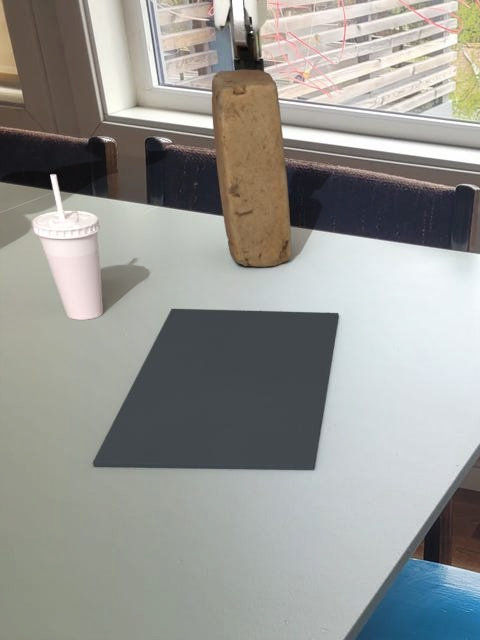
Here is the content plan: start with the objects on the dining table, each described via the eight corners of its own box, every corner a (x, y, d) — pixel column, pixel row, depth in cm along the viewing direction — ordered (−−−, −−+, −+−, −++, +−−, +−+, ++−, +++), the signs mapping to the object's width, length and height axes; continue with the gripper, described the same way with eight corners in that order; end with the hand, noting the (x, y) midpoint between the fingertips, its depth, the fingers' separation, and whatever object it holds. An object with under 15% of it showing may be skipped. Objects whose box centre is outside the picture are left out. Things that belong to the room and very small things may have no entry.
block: (295, 269, 120) (282, 82, 108) (232, 272, 118) (212, 83, 106) (282, 240, 128) (269, 64, 116) (223, 243, 126) (203, 64, 114)
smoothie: (42, 321, 104) (8, 179, 96) (70, 299, 109) (40, 162, 101) (100, 327, 104) (72, 184, 95) (126, 305, 109) (101, 168, 100)
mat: (93, 466, 82) (92, 462, 81) (172, 312, 108) (171, 308, 108) (314, 470, 83) (313, 465, 83) (338, 316, 109) (338, 312, 109)
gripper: (210, -101, 112) (228, 83, 123) (187, -93, 100) (209, 109, 112) (277, -97, 112) (289, 86, 124) (262, -89, 101) (277, 112, 112)
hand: (251, 97), depth 118 cm, fingers closed
